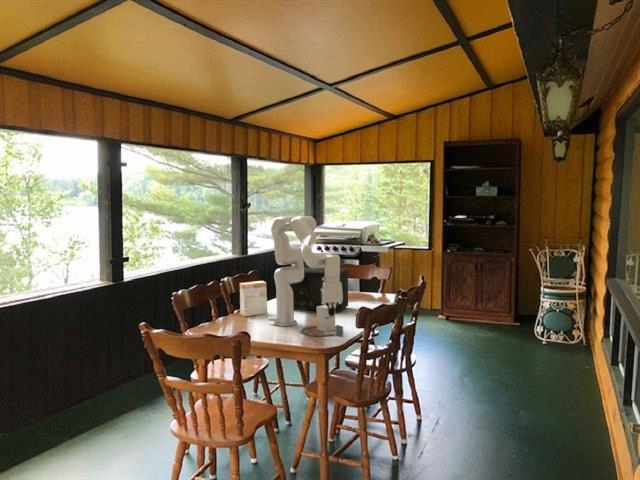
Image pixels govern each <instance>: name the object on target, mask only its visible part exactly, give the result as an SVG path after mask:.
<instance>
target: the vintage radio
mask: <svg viewBox="0 0 640 480" xmlns="http://www.w3.org/2000/svg"><path fill="white" fill-rule="evenodd" d="M324 276H325V267H324V268H315V269H313V268H310V267H309V266H308V267H306V266H305V267H304V279H303V280H302V281H301V282H299V283H292V284H290V286H291V288H292V290H293V295H294V309H295V310H309V311H317V306H323V304H321V302H322V299H321V294H322V286H323V282H325V281H324V280H322V278H323V277H324ZM340 282H341V284H342V292H343V300H342V303H341V304H338V305H337V306H336V308H335V313H339V312H341V311H343V310H344V309H345V308H347V307H348V306H349V269H348V268H340ZM331 306H332V303H331Z"/></svg>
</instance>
